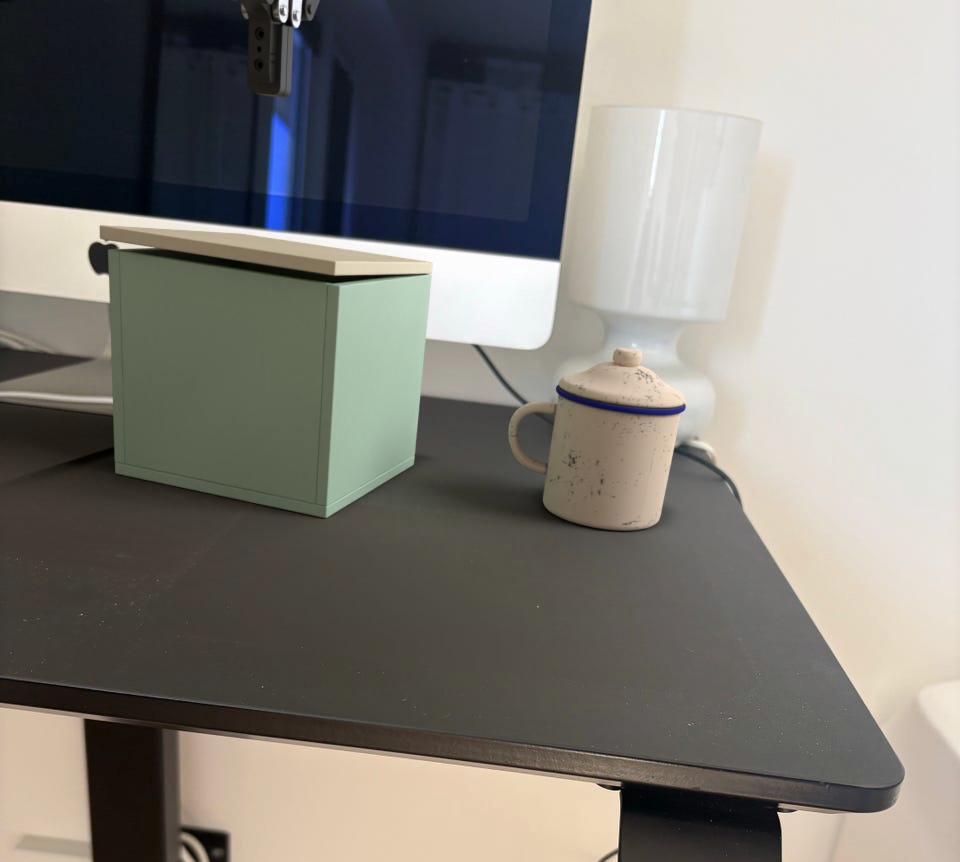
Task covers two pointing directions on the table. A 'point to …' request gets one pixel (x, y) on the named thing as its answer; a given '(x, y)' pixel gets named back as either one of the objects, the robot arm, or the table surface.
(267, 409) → the green open box
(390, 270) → the lid
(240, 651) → the table surface
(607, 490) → the teacup with lid
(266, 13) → the robot arm
